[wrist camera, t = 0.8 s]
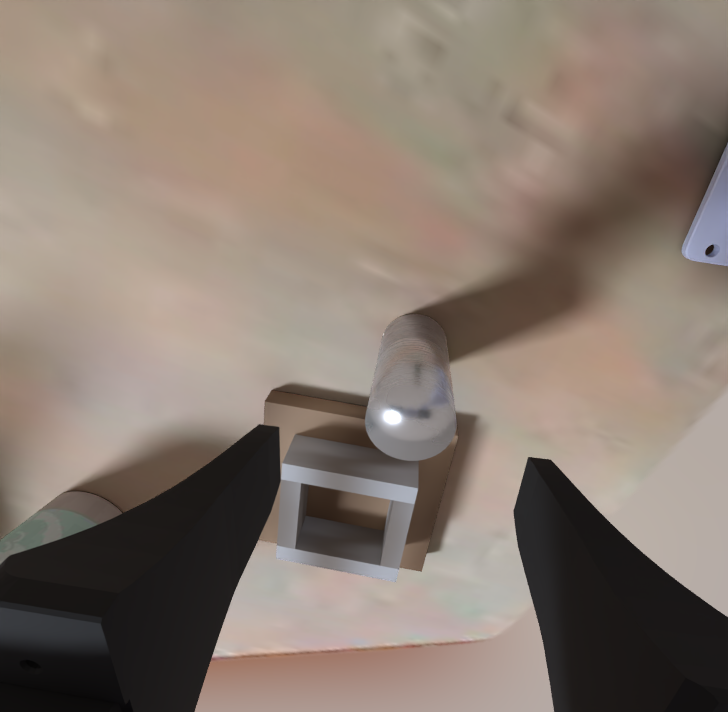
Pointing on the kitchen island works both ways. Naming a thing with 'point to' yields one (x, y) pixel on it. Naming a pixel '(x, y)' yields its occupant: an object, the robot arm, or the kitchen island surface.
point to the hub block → (348, 492)
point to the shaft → (412, 391)
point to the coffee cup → (58, 521)
